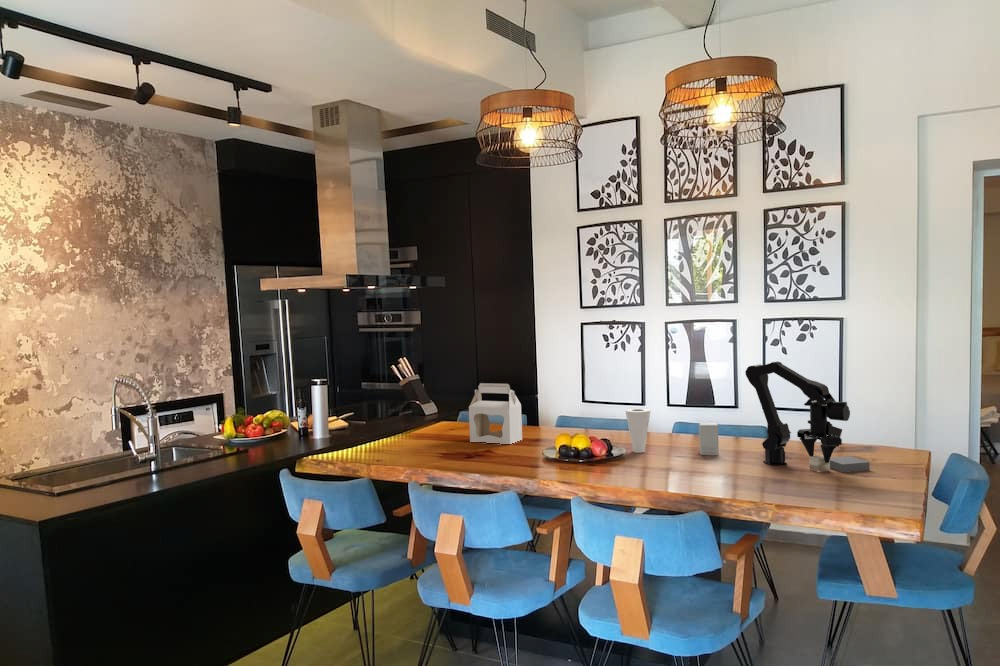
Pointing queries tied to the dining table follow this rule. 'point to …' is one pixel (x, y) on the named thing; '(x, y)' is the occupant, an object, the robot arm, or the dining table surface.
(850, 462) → the base
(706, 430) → the supplement box
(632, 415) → the cup
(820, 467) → the cube
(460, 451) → the dining table surface
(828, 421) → the robot arm
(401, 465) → the dining table surface
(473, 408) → the gable box
